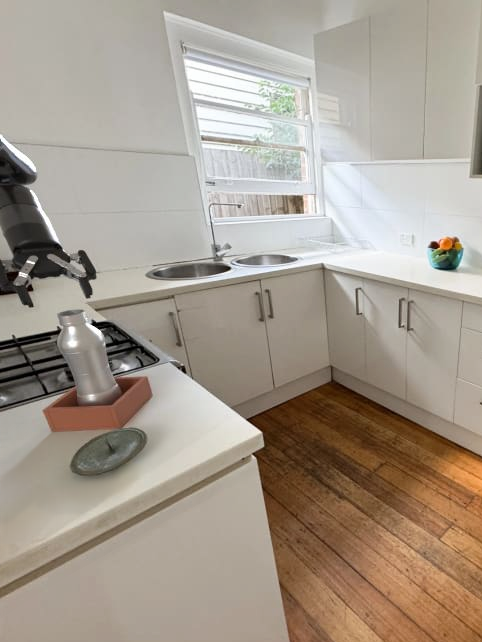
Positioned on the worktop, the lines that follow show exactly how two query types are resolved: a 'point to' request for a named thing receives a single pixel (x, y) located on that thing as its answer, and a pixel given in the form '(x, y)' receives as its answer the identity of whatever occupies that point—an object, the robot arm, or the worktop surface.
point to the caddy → (99, 408)
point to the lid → (108, 451)
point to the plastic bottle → (87, 359)
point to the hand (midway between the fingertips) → (61, 300)
